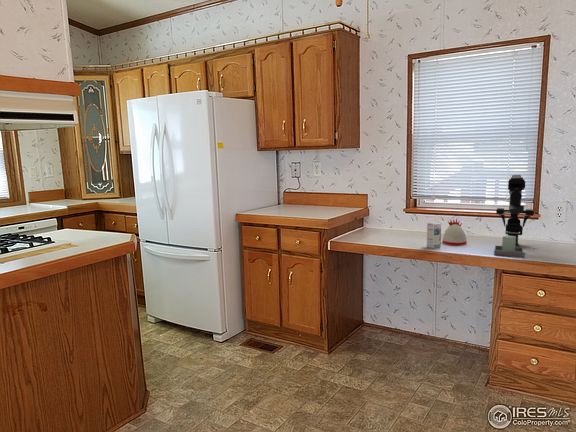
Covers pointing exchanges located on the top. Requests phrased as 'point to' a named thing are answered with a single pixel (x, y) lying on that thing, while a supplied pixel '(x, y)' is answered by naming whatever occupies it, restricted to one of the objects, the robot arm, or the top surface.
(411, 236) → the top surface
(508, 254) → the tray
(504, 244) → the sage block
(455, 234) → the cream dome with spikes
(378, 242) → the top surface
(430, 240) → the syrup box
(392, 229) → the top surface
